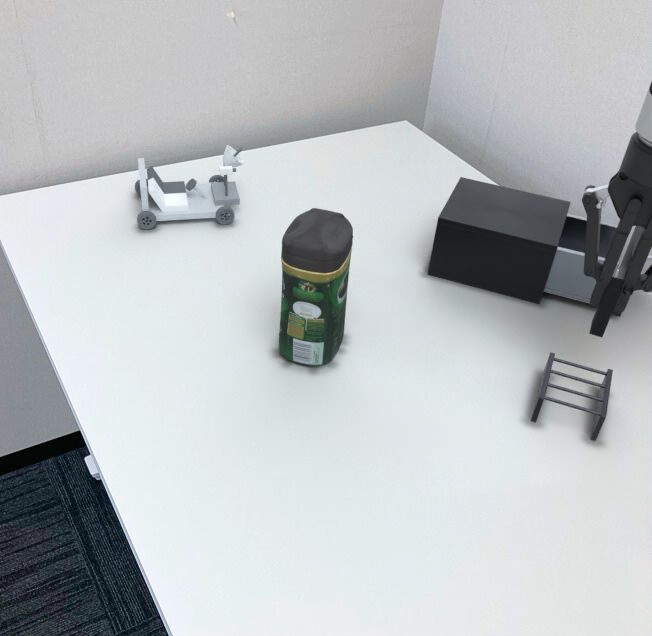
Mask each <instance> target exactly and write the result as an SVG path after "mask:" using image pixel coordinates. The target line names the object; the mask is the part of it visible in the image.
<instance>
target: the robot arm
mask: <svg viewBox="0 0 652 636" xmlns="http://www.w3.org/2000/svg"><path fill="white" fill-rule="evenodd" d="M634 129H635V132H633V133H632V135H631V136H630V139H629V142H628V145H627V147H626V150H625V153H624V155H623V158H622V161H621V164H620V165H619V169H618V171H617V172H616V173H615V174H614V175H613V176H612V177H611V178H610V179H609V182H608V183H607V184H603V185H600V186H595V185H592V184H590V185H587V186H586V187H585V189H584V191H583V195H582V198H581V204H582V205H583V208H584V211H585V214H586V218H587V224H586V240H585V257H584V274H585V276H587V277H593V278H594V279H595V280H596V284H595V287H594V290H593V292H592V295H591V299H590V304H589V305H590V306H591V307H595V308H596V310H595V313H594V315H593V317H592V320H591V324H590V328H589V332H588V334H589V335H592V336H595V337H599V338H603V336H604V335H605V332H606V330H607V327H608V324H609V323H610V320H611V318H612V316H613V315H612V312H616V313H620V314H621V313H622V314H623V313H624V312H625V310H626V307H627V305H628V304H629V301H630V298H631V296H633V295H634V292H635V291H643V292H644V293H650V292H651V293H652V263H651V264H650V265H649V267H648V268H647V269H646V270H645V272H644V273H642V271H643V269H644V267H645V264H646V262H647V257H648V255H649V256H650V252H651V250H652V81H651V82H650V85H649V88H648V89H647V91H646V95H645V97H644V101H643V102H642V105H641V108H640V111H639V114H638V117H637V120H636V122H635V125H634ZM609 197H610V200H611V203H612V206H613V208H614V210H615V214H616V215H617V217H618V219H619V221H618V224H617V225H618V226H617V229H616V231H615V234H614V237H613V239H612V242H611V244H610V247H609V250H608V252H607V255H606V257H605V260H604V263H603V265H602V264H601V263H599V262H598V251H599V238H600V224H601V221H602V209H603V208H604V207H605V206H606V204H607V200H608V198H609ZM636 226H641V227H643V228H644V229H643V231H642V234H641V236H640V239H639V241H638V244H637V246H636V249H635V251H634V254H633V256H632V259H631V261H630V264H629V266H628V268H627V271H626V273H625V277H624V279H619V278H618V277H615V276H614V277H612V276H613V273H614V271H615V268H616V266H617V263H618V261H619V260H620V258H621V256H622V253H623V250H624V248H625V245H626V243H627V241H628V238H629V236H630V234H631V231H632V229H633V227H636ZM619 262H620V261H619ZM622 314H621V315H622Z"/></svg>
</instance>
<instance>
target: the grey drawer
mask: <svg viewBox="0 0 652 636" xmlns="http://www.w3.org/2000/svg"><path fill="white" fill-rule="evenodd" d="M586 224H587V217H585V216H580V215H576V214H572V213H569V212H568V213H567V217H566V220H565V224H564V227H563V230H562V234H561V237H560V241H559V244H558V248H557V251H556V254H555V257H554V260H553V263H552V267H551V270H550V273H549V276H548V279H547V282H546V286H545V289H544V292H543V293H547V294H551V295H555V296H559V297H562V298H567V299H570V300H574V301H578V302H581V303H585V304H589V305H590V299H591V295H592V292H593V290H594V287H595V284H596V280H595V279H594V278H593V277H587V276H585V274H584V257H585V240H586ZM617 226H618V224H615V223H610V222H606V221H602V220H601V224H600V238H599V251H598V262H599V263H601V264H602V265H603V263H604V260H605V257H606V255H607V252H608V250H609V247H610V244H611V242H612V239H613V237H614V234H615V231H616V229H617ZM643 229H644V228H643V227H641V226H634V229H633V232H632V234H631V236H630V239H629V242H628V245H627V247H626V250H625V253H624V255H623V258H622V261H621V263H620V261H618V263H617V266H616V268H615V271H614V273H613V276H612V277H615V275H616V273H617V278H619V279H624V277H625V273H626V271H627V268H628V266H629V264H630V261H631V259H632V256H633V254H634V251H635V249H636V246H637V244H638V241H639V239H640V236H641V234H642V231H643ZM646 262H652V255H650V254H649V255H648V257H647V260H646ZM617 271H618V272H617ZM622 314H623V312H622V313H621V314H620V313H616V312H612V315H611V316H614V317H618V318H621V317H622Z"/></svg>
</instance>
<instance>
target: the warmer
mask: <svg viewBox="0 0 652 636" xmlns="http://www.w3.org/2000/svg"><path fill="white" fill-rule="evenodd" d="M570 207H571V201H568V200H564V199H559V198H554V197H550V196H547V195H546V196H545V195H542V194H537V193H532V192H528V191H525V190H520V189H515V188H511V187H507V186H502V185H497V184H493V183H488V182H484V181H480V180H475V179H471V178H467V177H463V176H460V178H459V179H458V181H457V182H456V185H455V187H454V188H453V190H452V192H451V193H450V196H449V197H448V199H447V201H446V203H445V204H444V206H443V208H442V210H441V212H440V214H439V215H438V217H437V222H436V226H435V232H434V238H433V243H432V248H431V253H430V259H429V263H428V269H427V275H428V276H432V277H436V278H440V279H444V280H447V281H451V282H455V283H459V284H462V285H466V286H469V287H470V286H471V287H473V288H477V289H481V290H485V291H489V292H492V293H496V294H500V295H504V296H508V297H512V298H516V299H519V300H523V301H526V302H530V303H535V304H537V305H540V304H541V301H542V299H543V295H544V293H545V292H544V289H545V286H546V282H547V279H548V276H549V273H550V270H551V267H552V263H553V260H554V257H555V254H556V251H557V248H558V244H559V241H560V237H561V234H562V230H563V227H564V224H565V220H566V217H567V213H568V214H569V209H570Z"/></svg>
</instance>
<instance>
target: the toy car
mask: <svg viewBox="0 0 652 636" xmlns="http://www.w3.org/2000/svg"><path fill="white" fill-rule="evenodd" d="M243 150H244V149H243V148H242V147H240V148H239V149H238V150H236V149H235V148H234V147H232V146H231V145H228V144H226V147H225V149H224V152H223V156H222V166H221V165H220V166H218V168H219V174H214V175H212V176H210V178H209V179H208V182H198V181H197V180H196V179H195V178H191V179H189V180H188V181H187V183H186V182H185V181H184V180H180V181H178V180H177V181H163V180H162V178H161V177H160V176H159V174H158V173H157V172H156V170H155V168H154V167H153V166H148V168H146V164H145V158H144V157H138V158H137V164H138V178H139V179H138V180H136V181H135V183H134V192H135V193H136V194H137V195H138V196H140V199H141V210H142V211H141V212H139V213H138V215H137V216H136V223H137V225H138V227H139V228H140V229H142V230H151V229H153V228H154V227H155V226H156V225H157V222H166V221H180V220H197V219H199V220H200V219H215V220H216V221H217V222H218V224H221V225H223V226H224V225H230V224H232V223H233V221H234V220H235V217H236V216H235V211H234V209H233V208H232V207H231V206H237V205H241V198H240V194H239V190H238V188H237V184H236V181H228V176H229V175H233V173H237V168H236V167H241V166H243V165H245V160H244V159H243V157H242V156H241V154H240V153H241V152H242V151H243Z"/></svg>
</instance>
